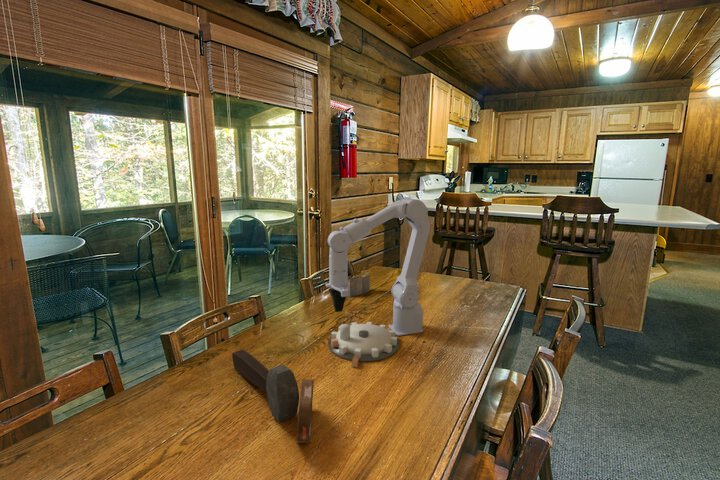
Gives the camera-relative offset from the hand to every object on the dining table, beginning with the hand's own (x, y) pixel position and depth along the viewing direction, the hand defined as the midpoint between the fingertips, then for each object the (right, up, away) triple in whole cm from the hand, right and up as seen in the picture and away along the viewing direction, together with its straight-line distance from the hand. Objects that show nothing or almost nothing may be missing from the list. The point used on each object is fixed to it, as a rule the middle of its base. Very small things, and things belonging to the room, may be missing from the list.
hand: (338, 310), depth 118 cm
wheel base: (+8, -10, -3) cm, 13 cm away
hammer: (-18, -15, -27) cm, 35 cm away
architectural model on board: (+6, -1, +42) cm, 43 cm away
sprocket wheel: (+8, -10, -3) cm, 13 cm away
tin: (-5, -17, -39) cm, 43 cm away
